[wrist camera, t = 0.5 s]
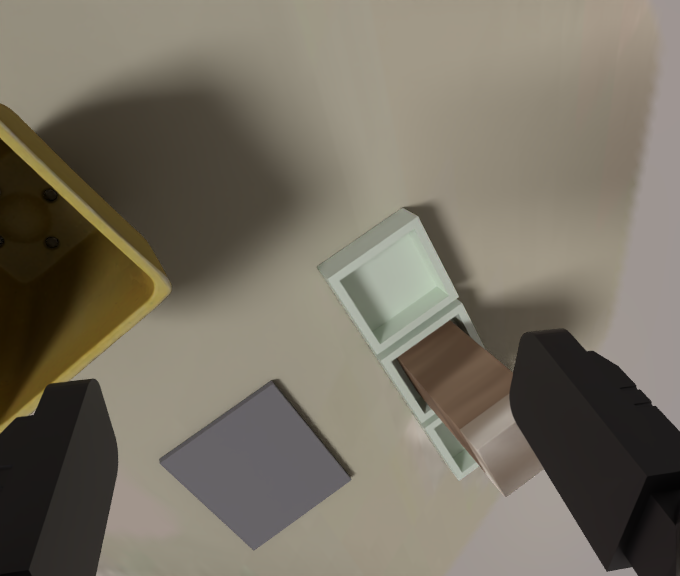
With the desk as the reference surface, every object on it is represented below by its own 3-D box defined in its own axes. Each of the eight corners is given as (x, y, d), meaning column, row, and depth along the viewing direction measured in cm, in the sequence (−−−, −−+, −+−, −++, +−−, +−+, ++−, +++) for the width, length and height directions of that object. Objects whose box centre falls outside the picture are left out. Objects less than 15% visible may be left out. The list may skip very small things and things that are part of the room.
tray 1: (316, 267, 31) (327, 279, 30) (402, 207, 32) (418, 216, 30) (364, 339, 34) (376, 355, 33) (442, 284, 35) (458, 296, 33)
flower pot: (167, 225, 28) (179, 291, 20) (34, 338, 28) (-6, 448, 20) (20, 76, 24) (-38, 85, 16) (-138, 208, 24) (-276, 284, 16)
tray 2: (368, 345, 34) (380, 360, 33) (445, 290, 35) (462, 303, 33) (408, 406, 37) (421, 423, 36) (479, 355, 38) (496, 369, 36)
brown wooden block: (391, 350, 35) (477, 449, 26) (443, 314, 35) (545, 399, 26) (417, 392, 37) (505, 497, 28) (466, 357, 37) (569, 450, 28)
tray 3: (411, 411, 38) (424, 428, 36) (481, 360, 38) (498, 374, 36) (444, 462, 41) (458, 481, 39) (510, 414, 41) (527, 430, 39)
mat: (159, 459, 33) (159, 463, 32) (271, 380, 33) (273, 383, 33) (252, 545, 37) (253, 550, 37) (349, 475, 38) (351, 479, 38)
